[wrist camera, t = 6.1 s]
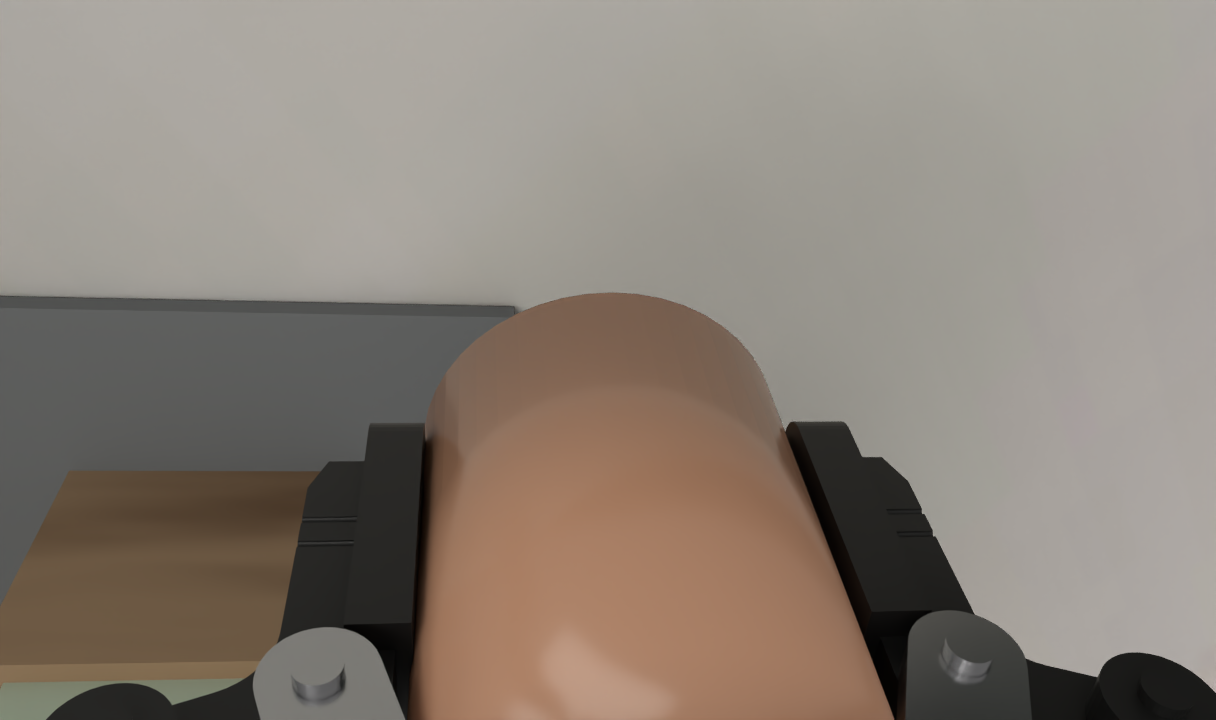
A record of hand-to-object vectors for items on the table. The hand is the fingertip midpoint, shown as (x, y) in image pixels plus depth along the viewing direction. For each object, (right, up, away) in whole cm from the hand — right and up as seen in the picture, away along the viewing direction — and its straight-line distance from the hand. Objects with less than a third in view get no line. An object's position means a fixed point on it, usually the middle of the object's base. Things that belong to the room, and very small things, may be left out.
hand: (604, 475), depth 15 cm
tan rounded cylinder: (0, 0, +1) cm, 1 cm away
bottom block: (-10, -4, +13) cm, 17 cm away
